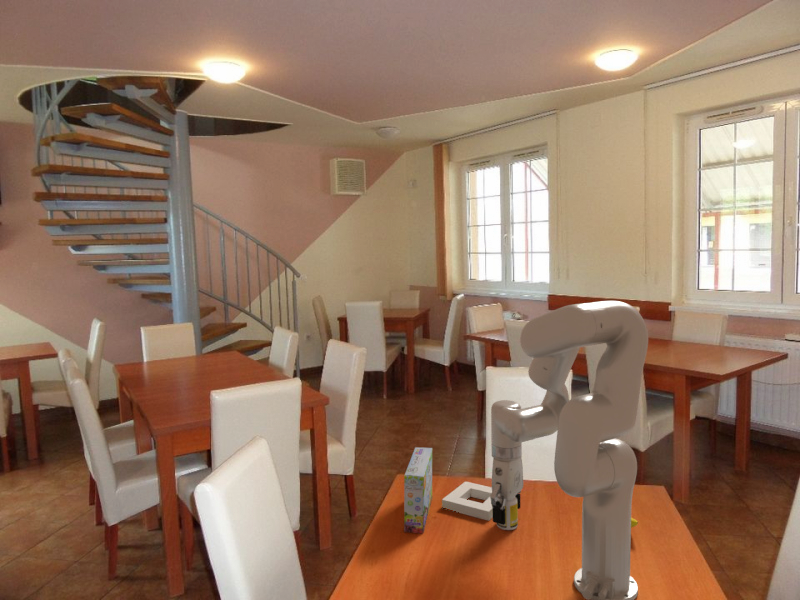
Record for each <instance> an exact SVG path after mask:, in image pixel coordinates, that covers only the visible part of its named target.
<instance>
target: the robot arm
mask: <svg viewBox="0 0 800 600" xmlns="http://www.w3.org/2000/svg"><path fill="white" fill-rule="evenodd" d="M519 340H520V341H519V342H520V346H521V349H522V351H523V353H524V354H525V355H526V356H528V357H529V358H532V359H531V363H530V365H529V367H528V377H529V378H530V380H531V382H532V383H534V384H535V385H536V386H538V387H540V388H541V389H544V390H546V392H545V395H544V397H543V399H542V402H541V403H540V404H538V405H537V404H536V405H532V406H529V407H524V408H522V406H521V405H520V403H519V402H517V401H515V400H514V401H513V400H508V399H506V400H505V399H504V400H497V401H495V402H493V403H492V405H491V407H490V417H491V418H490V419H491V420H490V422H491V423H490V424H491V425H490V427H491V428H490V429H491V431H490V432H491V434H490V435H491V436H490V437H491V445H490V446H491V457H492V458H493V459H492V467H491V487H492V493H491V496H490V499H491V504H492V508H493V517H492V522H493V523H496V524H497V523H499V524H502V525H504V524H505V509H504V505H505V501H506V499H507V500H511V499H512V498H514V497H516V498H517V504H518V505H517V506H518V510H520V509H521V493H522V490H523V488H524V468H523V467H524V466H523V460H522V457H523V456H522V455H523V454H522V453H523V452H522V451H523V450H522V447H523V446H522V445H523V442H528V441H533V440H535V439H539V438H544V437H547V436H551V435H553V434H555V433H556V432H557V433H556V434H557V435H556V442H555V451H554V461H553V463H554V466H553V469H554V475H555V480H556V481H557V484H558V486H559V487H560V489H561V490H562V491H563V492H564V493H565V494H566V495H568V496H571V497H573V498H582V506H581V507H582V508H581V509H582V512H581V568H579V569H578V570H577V571H576V572H575V573H574V576H573V584H574V586H575V588H576V589H577V591H578V592H579V593H581V595H582V597H583V598H584V599H586V600H635V599H636V598H637V596H638V592H639V587H638V586H639V585H638V584H637V581H636V580H635V579H634V577H632V576H631V545H632V544H631V538H632V537H631V536H632V534H631V532H632V527H631V518H632V503H633V492H634V489H635V488H634V487H635V483H636V478H637V474H638V461H637V460H638V459H637V457H636V454H635V451H634V450H633V448H632V447H631V446H630V445H629V444H628V443H626V442H625V441H624V440H622V439H619V438H622V437H624V436H627V435H629V433H631V432H632V431H633V430H634V427H635V425H636V421H637V415H638V408H639V401H640V400H639V399H640V394H641V393H640V392H641V386H642V385H641V384H642V376H643V371H644V366H645V362H646V357H647V353H648V346H649V331H648V327H647V325H646V322H645V319H644V318H643V316H642V315H641V313H640V312H639V311H638V309H636V308H635V307H634V306H632V305H631V304H629V303H626V302H625V301H624V302H623V301H621V300H620V301H619V300H600V301H592V302H584V303H583V302H582V303H575V304H568V305H565V306H562V307H559V308H556V309H554V310H552V311H549V312H547V313H544V314H542V315H539V316H537V317H534V318H532V319H530V320H529V321H527V323H525V325H524V327H523V328H522V330H521V332H520V339H519ZM603 344H606V347H605V350H604V352H603V353H602V355H601V356H600V358H599V360H598V363H597V365H596V369H595V377H594V385H593V388H592V390H591V392H590V393H586V394H582V395H577V396H574V397H573V398H570V397H569V391H568V388H567V386H566V384H565V383H566V382H567V379H568V377H569V374H570V372H571V370H572V366H573V365H574V362H575V360H576V359H577V356H578V354H579V351H580V348H584V347H588V346H589V347H590V346H596V345H603ZM499 494H503V496H500V495H499ZM498 499H502V502H501V503H500V502H499V501H498Z"/></svg>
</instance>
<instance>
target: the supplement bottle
mask: <svg viewBox="0 0 800 600" xmlns="http://www.w3.org/2000/svg"><path fill="white" fill-rule="evenodd" d="M499 495H500V496H503V494H499ZM498 501H499V502H500V503H501V502H502V499H498ZM517 505H518V504H517V498H516V497H514V498H512V499H511V500H507V499H506V501H505V505H504V509H505V524H504V525H502V524H499V523H496V526H497V528H499V529H500V530H504V531H512V530H516V529H517V527H518V526H519V523H518V522H519V519H518V518H519V516H518V512H519V511H518V510H519V509H518V506H517Z"/></svg>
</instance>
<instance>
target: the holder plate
mask: <svg viewBox="0 0 800 600" xmlns="http://www.w3.org/2000/svg"><path fill="white" fill-rule="evenodd" d="M491 493H492V486H486V485H482V484H479V483H474V482H470V481H464V482H463V483H461V484H460V485H459V486H457V487H455V489H454V490H453V491H451V492H450V493H448V494H447V495H446V496H444V497H443V498H442V499H441V508H442V507H443V508H447V509H450V510H453V511H452V512H454V511H456V512H455V513H458V512H459V514H463V515H465V516H466V515H467V516H469V517H473V518H477V519H481V520H485V521H490V520H491V519H493V508H492V504H491V499H490V496H491ZM471 497H472V498H475V499H479V500H483V501H484V502H483V503H482V502H478V501H475V500H470V498H471ZM468 498H469V499H468ZM467 499H468V500H467ZM443 508H442V509H443ZM447 509H446V510H447ZM450 510H449V511H450Z"/></svg>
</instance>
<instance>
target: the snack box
mask: <svg viewBox="0 0 800 600" xmlns="http://www.w3.org/2000/svg"><path fill="white" fill-rule="evenodd" d="M403 478H404V479H403V480H404V481H403V482H404V483H403V486H404V487H403V488H404V490H403V491H404V494H403V495H404V498H403V499H404V502H403V503H404V505H403V506H404V507H403V508H404V510H403V511H404V512H403V513H404V514H403V515H404V517H403V518H404V519H403V521H404V522H403V523H404V524H403V527H404V528H403V529H404V531H403V532H404V533H411V532H413V534H424V532H425V528H426V525H427V524H426V523H427V521H426V520H428V517H429V513H430V508H431V504H432V502H431V501H433V447H414V450H413V452H412V455H411V458H410V461H409V462H408V465H407V468H406V471H405V473H404V476H403ZM427 516H428V517H427Z"/></svg>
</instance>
